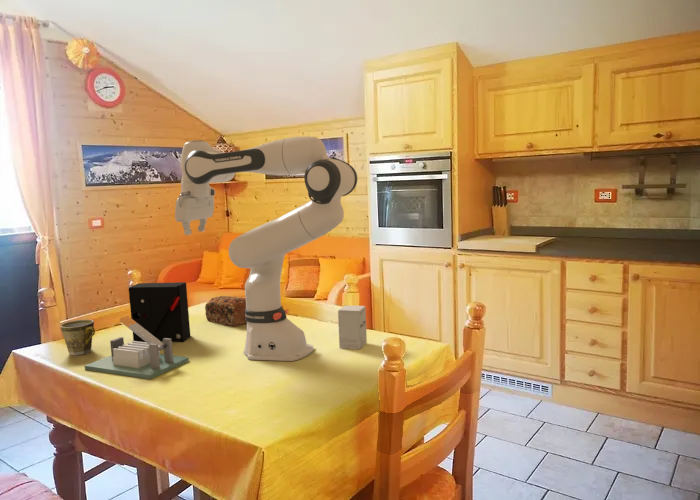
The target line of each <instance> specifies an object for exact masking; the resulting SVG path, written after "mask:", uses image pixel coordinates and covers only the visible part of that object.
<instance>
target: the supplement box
mask: <svg viewBox="0 0 700 500" xmlns="http://www.w3.org/2000/svg"><path fill="white" fill-rule="evenodd" d="M337 317H338V319H337V320H338V321H337V322H338V344H339V349H346V350H347V349H349V350H361V349H362V348H363V347H364V346H365V344H367V343H368V341H367V340H368V339H367V313H366V306H365V305H344V306H343V307H341V308H339V309H338V311H337Z"/></svg>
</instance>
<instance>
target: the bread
mask: <svg viewBox="0 0 700 500" xmlns="http://www.w3.org/2000/svg"><path fill="white" fill-rule="evenodd" d="M204 309H205V316H206V320H207V322H212V323H214V324H221V325H225V326H229V327H238V326H242V325H247V323H246V320H245V309H246V298H245V297H242V296H241V297H239V296H229V295H223V296H222V295H221V296H215V297H212V298H210V300H209V301H207V302H206V304H205V307H204Z"/></svg>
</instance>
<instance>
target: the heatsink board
mask: <svg viewBox="0 0 700 500" xmlns="http://www.w3.org/2000/svg"><path fill="white" fill-rule="evenodd" d="M109 343H110V350H111V351H110V352H111V355H109V356H107V357H104V358H101V359H98V360H96V361H93V362H91V363H87V364H86V365H84V370H85V371H93V372H99V373H106V374H111V373H112V374H111V375H118V374H119V376H126V377H132V378H139V379H145V380H152V379H155V378H156V377H159V376H160V375H162V374H164V373H167V372H169V371H171V370H173V369H175V368H177V367H180V366H181V365H184V364H185V363H188V362H190V359H189V356H180V355H175V354H174V353H173V342H172V340H171V339H170V338H164V339H163V342H162V343H163V344H166V345H167V347H166V348H164V349H163V353H161V350H159V351H158V344H153V343H151V344H148V343H147V342H138V341H133V340H132V341H131V342H128V343H127V344H125V342H124V337H122V336H120V337H117V338H114V339H112V340H109Z"/></svg>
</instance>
